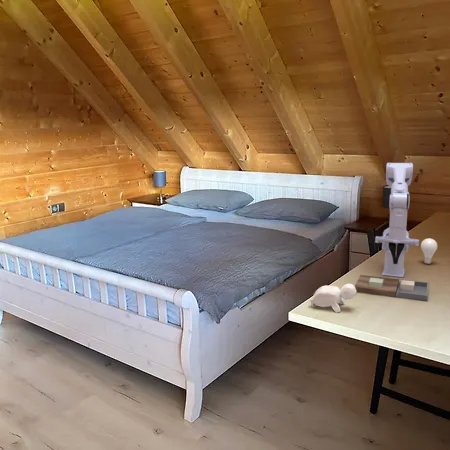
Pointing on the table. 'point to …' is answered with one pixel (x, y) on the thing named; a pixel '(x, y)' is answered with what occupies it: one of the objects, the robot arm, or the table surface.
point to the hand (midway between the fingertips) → (395, 263)
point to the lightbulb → (428, 249)
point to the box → (417, 294)
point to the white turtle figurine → (333, 296)
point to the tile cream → (407, 285)
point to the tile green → (376, 282)
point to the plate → (387, 289)
